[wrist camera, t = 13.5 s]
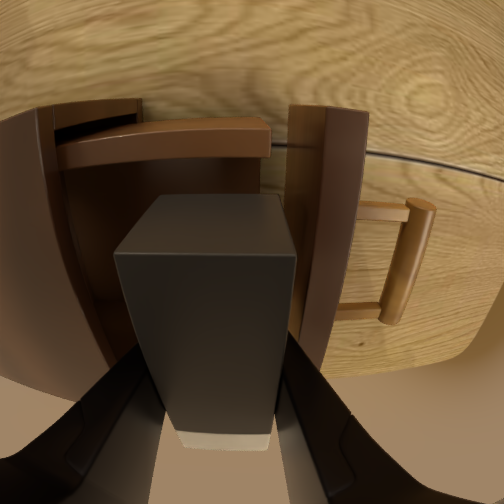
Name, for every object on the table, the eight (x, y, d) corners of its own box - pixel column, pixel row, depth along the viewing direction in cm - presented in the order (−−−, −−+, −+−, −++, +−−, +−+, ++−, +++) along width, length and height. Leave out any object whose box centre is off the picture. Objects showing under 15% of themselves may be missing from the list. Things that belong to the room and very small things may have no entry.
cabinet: (142, 98, 12) (36, 106, 5) (167, 308, 19) (136, 415, 12) (-21, 143, 12) (-104, 184, 5) (20, 294, 19) (-29, 362, 11)
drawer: (399, 119, 12) (488, 143, 6) (360, 309, 18) (394, 390, 12) (59, 124, 12) (-30, 153, 6) (98, 305, 18) (60, 379, 12)
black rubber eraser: (279, 193, 7) (298, 254, 4) (264, 386, 11) (267, 451, 8) (159, 194, 7) (111, 252, 4) (192, 384, 11) (183, 447, 8)
